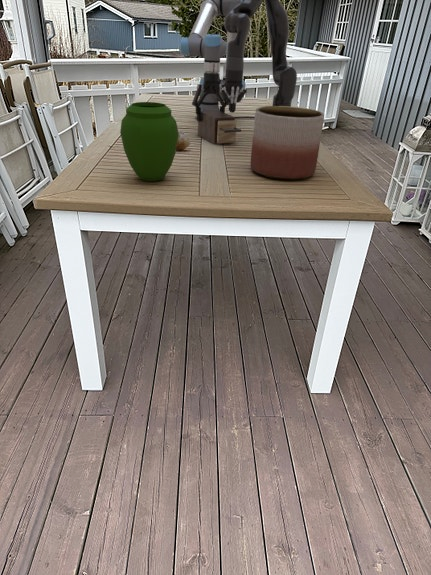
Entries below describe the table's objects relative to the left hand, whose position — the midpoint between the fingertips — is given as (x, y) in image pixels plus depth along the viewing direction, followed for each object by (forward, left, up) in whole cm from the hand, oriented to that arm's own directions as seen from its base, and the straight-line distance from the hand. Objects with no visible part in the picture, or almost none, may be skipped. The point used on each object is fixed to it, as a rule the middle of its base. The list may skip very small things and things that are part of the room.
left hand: (210, 120), depth 206 cm
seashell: (+24, +25, -7) cm, 35 cm away
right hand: (-1, +23, +8) cm, 25 cm away
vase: (+47, +61, -7) cm, 78 cm away
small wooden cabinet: (0, +7, -7) cm, 10 cm away
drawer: (-1, +13, -6) cm, 15 cm away
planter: (-5, +66, -7) cm, 66 cm away
